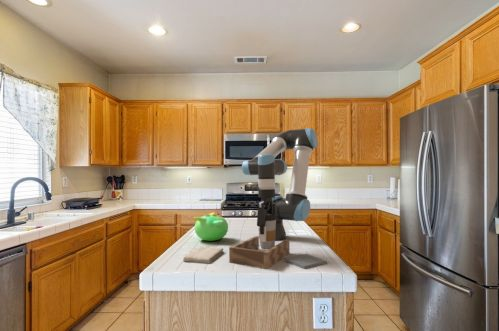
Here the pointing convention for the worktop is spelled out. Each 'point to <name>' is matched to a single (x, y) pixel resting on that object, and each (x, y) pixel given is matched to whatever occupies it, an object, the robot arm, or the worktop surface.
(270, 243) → the coffee cup
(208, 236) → the toy bird
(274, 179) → the robot arm
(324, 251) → the worktop surface
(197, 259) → the washcloth
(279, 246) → the u-shaped wooden frame
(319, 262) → the coaster
